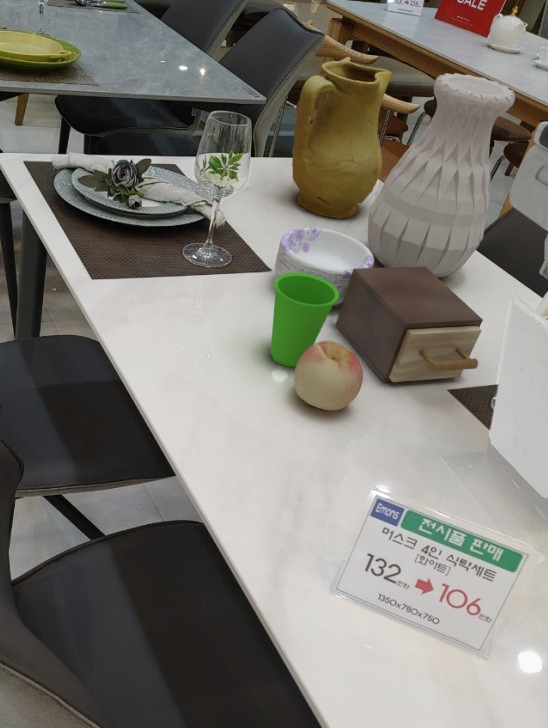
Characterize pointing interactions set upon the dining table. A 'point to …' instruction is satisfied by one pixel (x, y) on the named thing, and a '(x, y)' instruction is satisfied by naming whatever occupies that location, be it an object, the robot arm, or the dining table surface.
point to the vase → (441, 181)
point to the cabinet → (396, 311)
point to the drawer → (435, 353)
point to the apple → (328, 376)
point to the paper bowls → (322, 256)
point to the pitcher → (338, 138)
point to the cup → (299, 314)
